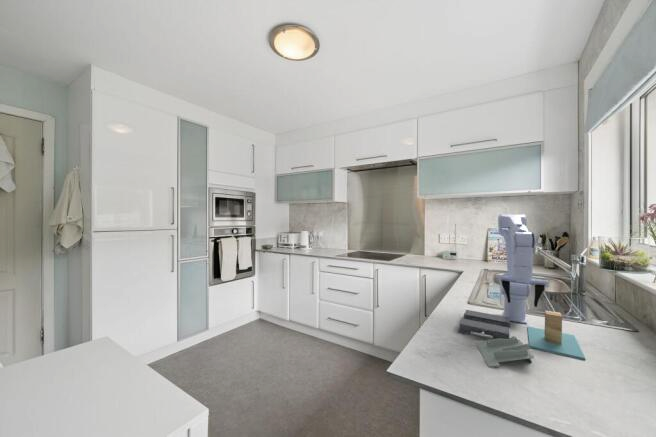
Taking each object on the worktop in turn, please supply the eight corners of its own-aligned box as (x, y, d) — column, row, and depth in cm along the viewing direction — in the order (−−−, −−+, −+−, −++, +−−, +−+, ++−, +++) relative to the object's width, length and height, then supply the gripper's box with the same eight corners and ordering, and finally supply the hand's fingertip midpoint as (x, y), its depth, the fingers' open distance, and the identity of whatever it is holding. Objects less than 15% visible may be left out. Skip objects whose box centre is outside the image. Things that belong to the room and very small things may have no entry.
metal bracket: (517, 330, 87) (539, 353, 72) (523, 348, 86) (546, 375, 72) (469, 337, 91) (481, 361, 76) (474, 354, 90) (488, 381, 76)
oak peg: (544, 336, 93) (545, 310, 93) (559, 339, 91) (560, 312, 91) (545, 341, 90) (546, 313, 90) (561, 344, 87) (562, 316, 87)
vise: (466, 315, 114) (466, 308, 114) (509, 323, 105) (509, 316, 105) (457, 334, 96) (457, 326, 96) (508, 346, 88) (508, 337, 87)
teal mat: (527, 327, 101) (527, 326, 101) (574, 336, 94) (574, 335, 94) (529, 347, 87) (529, 345, 87) (585, 360, 79) (585, 358, 79)
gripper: (497, 265, 98) (497, 303, 98) (549, 269, 90) (549, 311, 90) (498, 262, 104) (498, 298, 104) (547, 266, 95) (547, 305, 95)
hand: (522, 304), depth 97 cm, fingers open, 7 cm apart
